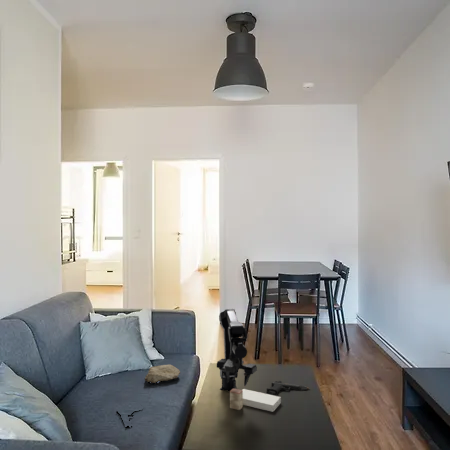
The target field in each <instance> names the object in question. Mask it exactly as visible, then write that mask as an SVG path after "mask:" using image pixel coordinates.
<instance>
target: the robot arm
mask: <svg viewBox="0 0 450 450" xmlns="http://www.w3.org/2000/svg"><path fill="white" fill-rule="evenodd" d="M235 310H236V309H235V308H226V309H224V311H221V312H220V313H219V315H218V320H219V323H220V326H221V328H222V329H223V351H224V353H223V354H224V358H221V359H219V360H218V361H217V362H216V368H217V369H219V377H220V379H221V387H220V389H219V390H222V391H227V392H230V391H231V390H232V389H233V388H234V389H237V380H236V379H238V375H239V370H243V372H244V373H243V375H244V381H243V384H244V387H247V385H248V382H249V379H250V377H251V376H252V375H253V374H255V372H256V371H258V367H257V365H256V364H255V363H248V364H246V365H244V363H245V362H244V360H243V359H245V358H246V356H247V355H248V350H247V348H246V346H245V345H244V342H248V341H247V339H248V334H247V329H246V327H245V326H244V325H243V323H242V322H241V321H239V320H238V317H237V312H236V311H235Z"/></svg>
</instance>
